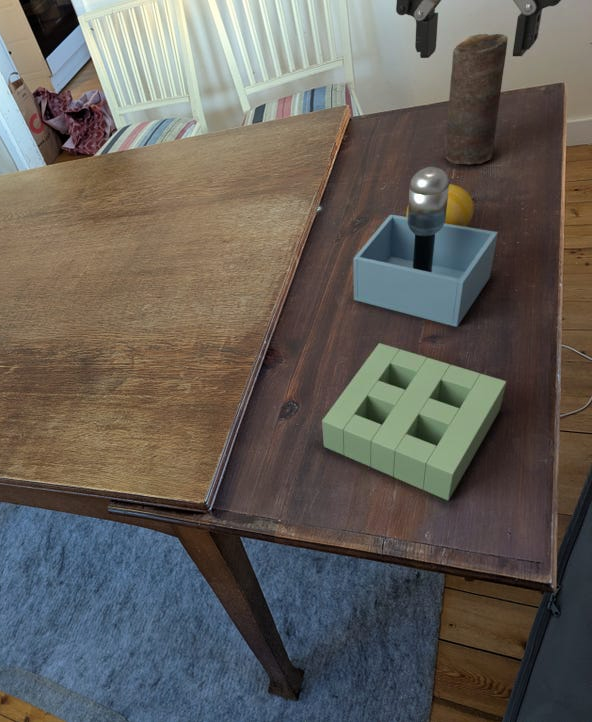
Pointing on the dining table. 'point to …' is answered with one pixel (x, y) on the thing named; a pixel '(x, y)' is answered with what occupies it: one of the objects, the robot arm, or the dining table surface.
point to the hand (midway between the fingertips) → (471, 54)
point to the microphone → (427, 212)
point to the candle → (474, 98)
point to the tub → (421, 288)
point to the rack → (414, 418)
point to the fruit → (458, 207)
